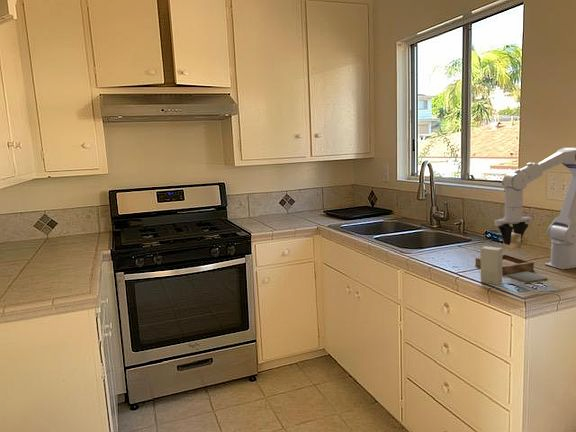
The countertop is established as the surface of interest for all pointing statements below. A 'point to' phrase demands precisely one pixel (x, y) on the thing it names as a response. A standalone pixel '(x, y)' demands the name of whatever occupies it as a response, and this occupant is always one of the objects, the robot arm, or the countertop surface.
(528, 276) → the mat
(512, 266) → the slot box
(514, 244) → the maple block
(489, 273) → the skincare box
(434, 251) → the countertop surface
